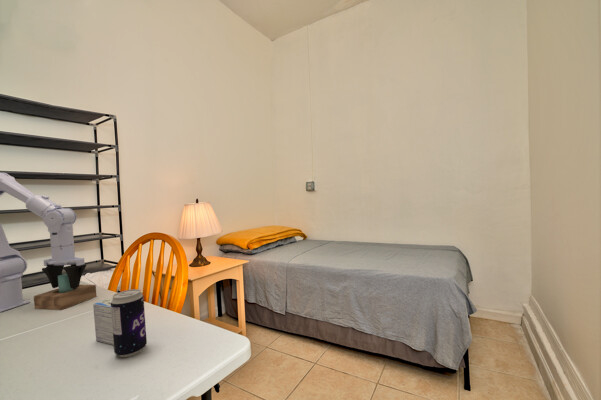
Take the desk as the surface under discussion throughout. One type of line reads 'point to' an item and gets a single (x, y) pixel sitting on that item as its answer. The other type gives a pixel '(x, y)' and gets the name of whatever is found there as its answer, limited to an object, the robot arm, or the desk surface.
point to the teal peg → (64, 283)
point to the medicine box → (103, 321)
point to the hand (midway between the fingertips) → (65, 287)
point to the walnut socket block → (64, 297)
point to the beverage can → (128, 322)
